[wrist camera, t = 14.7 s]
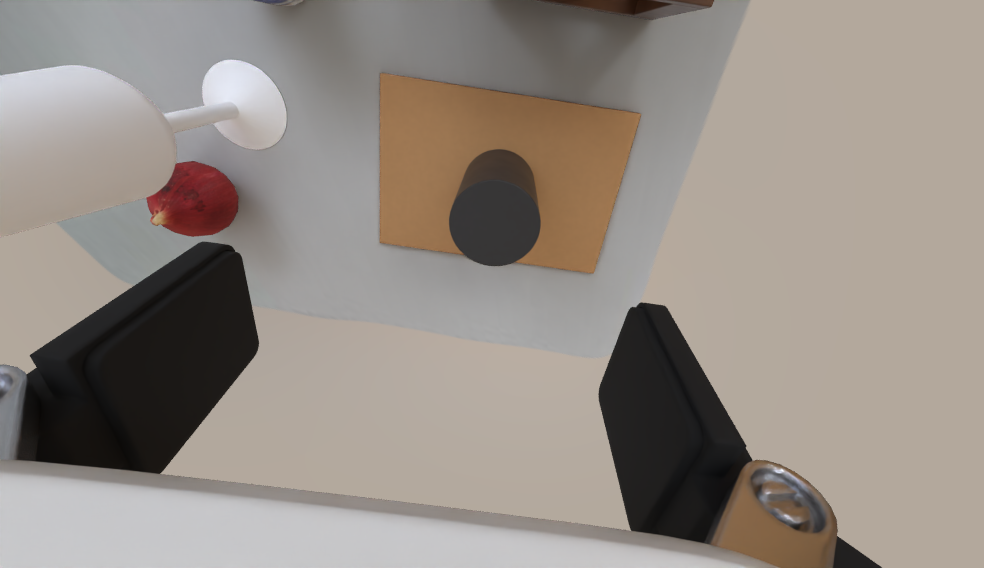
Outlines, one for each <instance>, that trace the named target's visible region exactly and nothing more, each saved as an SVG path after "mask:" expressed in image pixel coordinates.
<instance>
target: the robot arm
mask: <svg viewBox="0 0 984 568" xmlns="http://www.w3.org/2000/svg"><path fill="white" fill-rule="evenodd" d="M258 346H259V340H258V335H257V330H256V325H255V320H254V315H253V310H252V305H251V300H250V295H249V290H248V285H247V280H246V275H245V270H244V265H243V260H242V257H241V255H240V254H239V253H238V252H235V250H234V248H233V247H232V246H230V245H226V244H218V243H211V242H200V243H198V244H197V245H195V246H194V247H192V248H191V249H189V250H188V251H186V252H185V253H183V254H182V255H180V256H179V257H177V258H176V259H174V260H172V261H171V262H169V263H168V264H166V265H165V266H163V267H162V268H160V269H159V270H157V271H156V272H154V273H153V274H151V275H150V276H148V277H147V278H145V279H144V280H142V281H141V282H139V283H138V284H136V285H135V286H133V287H132V288H130V289H129V290H127V291H126V292H124V293H123V294H121V295H120V296H118V297H117V298H115V299H114V300H112V301H111V302H109V303H108V304H106V305H105V306H103V307H102V308H100V309H99V310H97V311H96V312H94V313H93V314H91V315H90V316H88V317H87V318H85V319H84V320H82V321H81V322H79V323H78V324H76V325H75V326H73V327H72V328H70V329H69V330H67V331H66V332H64V333H63V334H61V335H60V336H58V337H56V338H55V339H53V340H52V341H50V342H49V343H47V344H46V345H44V346H43V347H42V348H40V349H38V350H37V351H35V352H34V353H32V354H31V355H30V357H31V358H32V360H33V362H34V364H35V365H36V367H37V368H35V369H34V370H33V371H31V372H30V373H28V374H27V375H26V373H25V372H23V371H22V370H21V369H19V368H18V367H14V366H9V365H0V568H882V567H880V566H879V565H877V564H876V563H875V562H873V561H872V560H870V559H869V558H868V557H866V556H865V555H863V554H862V553H860V552H859V551H858V550H856V549H855V548H853V547H852V546H851V545H849V544H848V543H846V542H845V541H844V540H842V539H841V538H839V537H838V536H837V532H838V529H837V520H836V517H835V515H834V513H833V511H832V508H831V506H830V505H829V504H828V502H827V501H826V500H825V498H824V497H823V496H822V494H821V493H820V492H819V491H818V490H817V489H816V488H815V487H814V486H812V485H811V484H810V483H809V482H808V481H807V480H806V479H804V478H803V477H801V476H800V475H798V474H797V473H795V472H794V471H792V470H790V469H788V468H786V467H784V466H782V465H780V464H777V463H774V462H770V461H766V460H755V461H752V458H751V457H750V455H749V453H748V451H747V450H746V445H745V443H744V441H743V439H742V438H741V436H740V434H739V432H738V431H737V429H736V427H735V425H734V424H733V422H732V420H731V419H730V417H729V415H728V413H727V411H726V410H725V408H724V406H723V405H722V403H721V401H720V399H719V398H718V396H717V394H716V392H715V391H714V389H713V387H712V385H711V384H710V382H709V380H708V379H707V377H706V375H705V373H704V371H703V370H702V368H701V367H700V365H699V363H698V361H697V359H696V358H695V356H694V354H693V352H692V351H691V349H690V347H689V345H688V344H687V342H686V340H685V338H684V337H683V335H682V333H681V331H680V330H679V328H678V326H677V324H676V323H675V321H674V319H673V318H672V316H671V314H670V312H669V311H668V309H667V308H666V307H665V306H663V305H656V304H649V303H639V304H638V305H637V307H636V308H635V307H631V308H630V309H629V311H628V313H627V316H626V319H625V321H624V324H623V327H622V329H621V332H620V334H619V337H618V340H617V342H616V345H615V348H614V350H613V353H612V355H611V358H610V361H609V363H608V366H607V369H606V371H605V374H604V377H603V379H602V382H601V384H600V388H599V402H600V406H601V410H602V415H603V419H604V423H605V427H606V431H607V435H608V439H609V444H610V447H611V452H612V456H613V460H614V464H615V468H616V472H617V477H618V480H619V485H620V489H621V493H622V497H623V501H624V506H625V510H626V514H627V518H628V522H629V525H630V529H631V531H627V530H621V529H614V528H607V527H599V526H593V525H585V524H578V523H571V522H562V521H554V520H546V519H538V518H530V517H522V516H513V515H506V514H497V513H489V512H481V511H473V510H465V509H457V508H448V507H441V506H432V505H424V504H415V503H407V502H399V501H390V500H382V499H373V498H365V497H357V496H347V495H339V494H330V493H322V492H313V491H305V490H297V489H288V488H280V487H271V486H262V485H253V484H244V483H236V482H226V481H218V480H209V479H199V478H191V477H181V476H173V475H164V474H160V473H161V472H162V471H163V470H164V469H165V468H166V466H167V465H168V464H169V463H170V461H171V460H172V459H173V458H174V456H175V455H176V454H177V453H178V451H179V450H180V449H181V448H182V446H183V445H184V444H185V442H186V441H187V440H188V439H189V438H190V436H191V435H192V434H193V433H194V431H195V430H196V429H197V428H198V426H199V425H200V424H201V423H202V421H203V420H204V419H205V418H206V416H207V415H208V414H209V413H210V411H211V410H212V409H213V408H214V406H215V405H216V404H217V403H218V401H219V400H220V399H221V398H222V396H223V395H224V394H225V392H226V391H227V390H228V389H229V387H230V386H231V385H232V384H233V383H234V381H235V380H236V379H237V378H238V376H239V375H240V374H241V373H242V371H243V370H244V369H245V368H246V366H247V365H248V364H249V363H250V361H251V360H252V359H253V358H254V356H255V355H256V353H257V351H258Z"/></svg>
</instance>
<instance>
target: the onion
mask: <svg viewBox="0 0 984 568" xmlns="http://www.w3.org/2000/svg"><path fill="white" fill-rule="evenodd" d="M147 203H148V207H149V210H150V212H151V214H152V215H153V216H152V218H151V220H150V222H151V223H152V224H153V225H155V226H158V225H160V224H161V225H162V226H163V227H165V228H167V229H169V230H171V231H173V232H175V233H179V234H183V235H187V236H192V237H194V236H205V235H213V234H215V233H218V232H220V231H221V230H223V229H224V228H226V227H228V226H229V225H230V224H231V223H232V221H233V220H234V218H235V216H236V214H237V212H238V195H237V192H236V189H235V187H234V185H233V184H232V183H231V182H230V180H229V179H228V178H227V176H225V175H224V174H223V173H221V172H220V171H219V170H217V169H216V168H214V167H211V166H208V165H205V164H202V163H198V162H195V161H191V162H183V163H177V164H175V167H174V171H173V173H172V176H171V178H170V179H169V181H168V183H167V184H166V185H165V186H164V187H163V188H162V189H160V190H159V191H158V192H157V193H156V194H154V195H151V196H149V197H147Z"/></svg>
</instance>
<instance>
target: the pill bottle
mask: <svg viewBox="0 0 984 568" xmlns="http://www.w3.org/2000/svg"><path fill="white" fill-rule="evenodd" d="M255 1H260V2H265V3H270V4H274V5H281V6H291V5H296V4H298V3H300V2H302V1H303V0H255Z"/></svg>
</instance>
